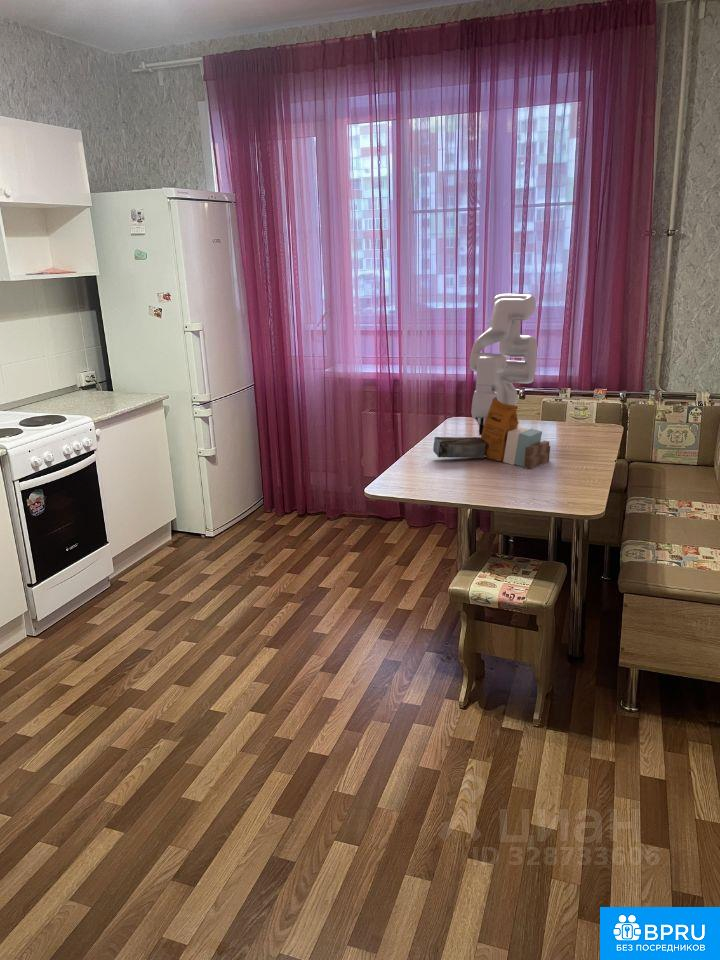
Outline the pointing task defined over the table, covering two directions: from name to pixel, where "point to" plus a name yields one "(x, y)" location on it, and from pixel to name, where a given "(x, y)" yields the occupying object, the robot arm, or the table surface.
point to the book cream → (512, 445)
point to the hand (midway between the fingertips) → (483, 434)
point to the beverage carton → (459, 447)
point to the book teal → (526, 444)
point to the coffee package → (498, 428)
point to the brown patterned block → (537, 454)
